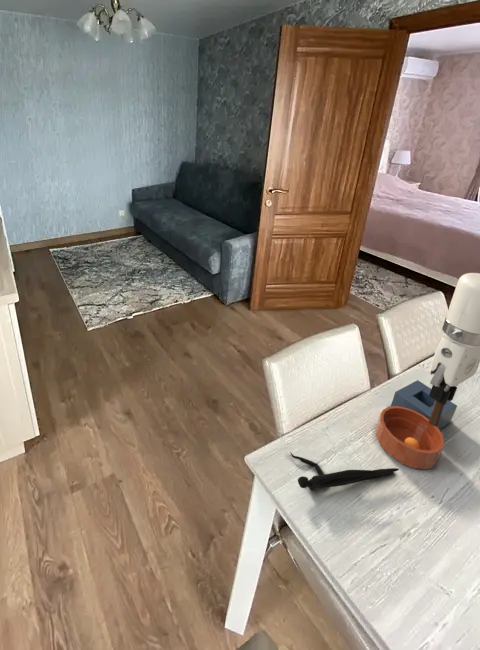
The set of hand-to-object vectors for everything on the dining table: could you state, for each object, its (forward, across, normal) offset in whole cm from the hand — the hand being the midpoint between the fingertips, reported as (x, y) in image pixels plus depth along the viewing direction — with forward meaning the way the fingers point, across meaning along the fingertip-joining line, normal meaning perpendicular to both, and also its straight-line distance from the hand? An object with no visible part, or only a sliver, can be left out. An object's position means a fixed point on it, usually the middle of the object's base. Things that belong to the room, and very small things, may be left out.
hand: (440, 397), depth 78 cm
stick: (+8, 0, 0) cm, 8 cm away
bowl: (+19, 0, +3) cm, 19 cm away
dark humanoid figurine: (+19, -21, +6) cm, 29 cm away
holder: (+19, +13, +7) cm, 24 cm away
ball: (+16, -1, +2) cm, 17 cm away
